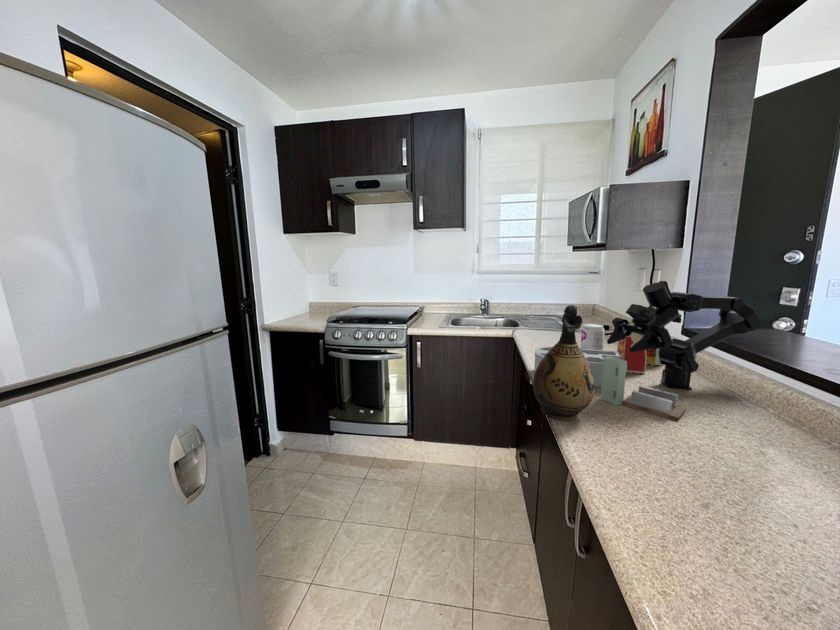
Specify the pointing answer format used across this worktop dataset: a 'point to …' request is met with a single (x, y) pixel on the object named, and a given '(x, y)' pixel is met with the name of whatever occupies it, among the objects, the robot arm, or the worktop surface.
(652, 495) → the worktop surface
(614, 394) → the door panel
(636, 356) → the milk carton
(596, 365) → the gray compartment organizer
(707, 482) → the worktop surface
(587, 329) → the supplement can
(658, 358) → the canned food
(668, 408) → the slotted panel holder
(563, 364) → the ceramic jug
